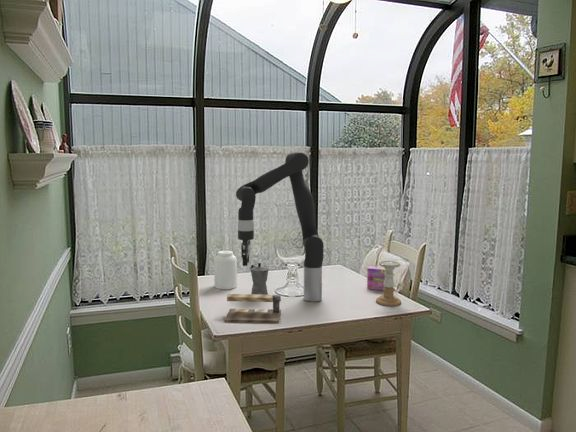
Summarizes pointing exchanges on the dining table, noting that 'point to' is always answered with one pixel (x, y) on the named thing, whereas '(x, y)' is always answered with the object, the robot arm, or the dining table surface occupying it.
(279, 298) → the swing arm
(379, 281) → the box
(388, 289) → the candle holder
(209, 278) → the dining table surface
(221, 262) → the white jar
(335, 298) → the dining table surface
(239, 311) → the label board
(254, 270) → the coffeepot
